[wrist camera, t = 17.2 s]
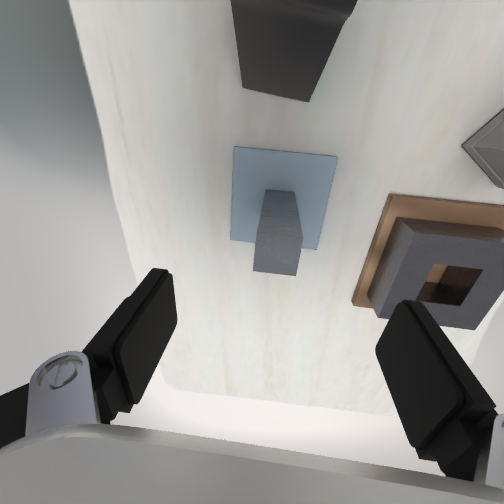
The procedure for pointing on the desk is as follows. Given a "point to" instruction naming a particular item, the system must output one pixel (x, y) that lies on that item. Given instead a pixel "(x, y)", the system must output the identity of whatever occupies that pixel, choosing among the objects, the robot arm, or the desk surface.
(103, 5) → the desk surface
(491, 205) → the stand
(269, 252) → the key peg
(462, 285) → the block
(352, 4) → the phone stand
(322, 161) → the mat
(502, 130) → the cassette tape recorder
